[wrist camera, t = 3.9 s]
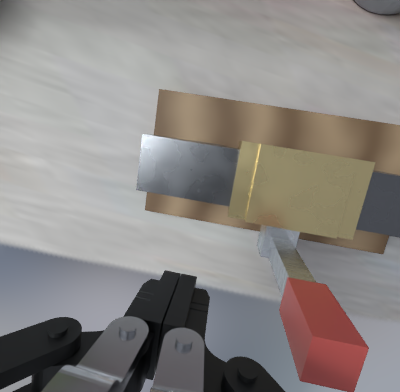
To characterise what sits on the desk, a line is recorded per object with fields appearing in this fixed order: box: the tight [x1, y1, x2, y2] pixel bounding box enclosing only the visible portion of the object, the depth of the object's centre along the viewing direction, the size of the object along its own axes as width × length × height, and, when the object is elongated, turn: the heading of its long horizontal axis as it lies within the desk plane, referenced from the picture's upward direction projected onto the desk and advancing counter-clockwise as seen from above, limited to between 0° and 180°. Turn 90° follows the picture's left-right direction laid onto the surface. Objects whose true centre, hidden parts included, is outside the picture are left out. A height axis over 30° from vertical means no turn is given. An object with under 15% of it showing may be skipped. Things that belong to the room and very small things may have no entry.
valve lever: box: [257, 225, 369, 392], centre depth 16 cm, size 2×3×13 cm
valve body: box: [136, 134, 400, 240], centre depth 23 cm, size 22×5×11 cm, turn 81°
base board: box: [145, 89, 400, 254], centre depth 29 cm, size 26×13×2 cm, turn 81°
